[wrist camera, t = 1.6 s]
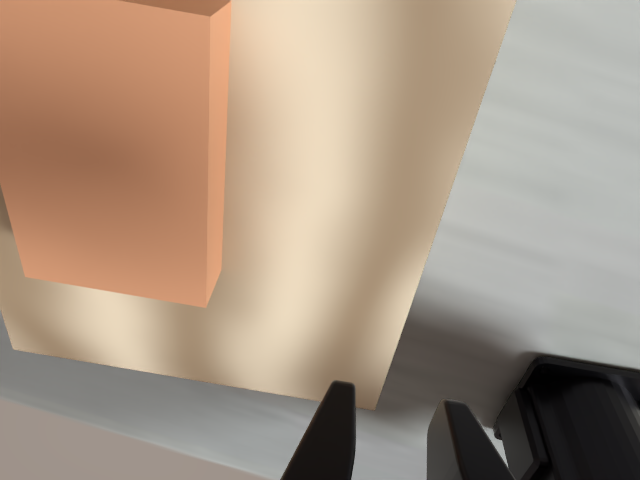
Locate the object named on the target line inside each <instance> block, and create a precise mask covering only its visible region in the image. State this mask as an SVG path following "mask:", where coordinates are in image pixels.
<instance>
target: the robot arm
mask: <svg viewBox="0 0 640 480" xmlns="http://www.w3.org/2000/svg"><path fill="white" fill-rule="evenodd" d="M493 431H494V436H495V438H497V439H499V440H502V441H503V446H504V450H505V454H506V459H507V463H508V467H509V468H508V467H507V465H506V464H505V462H504V461H503V459H502V458H501V456H500V454H499V453H498V451H497V450H496V448H495V447H494V445H493V444H492V442H491V440H490V439H489V437H488V436H487V434H486V433H485V431H484V430H483V428H482V426H481V425H480V423H479V422H478V420H477V419H476V417H475V416H474V414H473V412H472V411H471V409H470V408H469V406H468V405H467V404H466V403H464V402H462V401H457V400H451V399H443V400H441V401H440V403H439V405H438V407H437V409H436V412H435V414H434V416H433V418H432V420H431V422H430V425H429V428H428V434H427V480H640V373H637V372H631V371H625V370H619V369H614V368H608V367H602V366H596V365H590V364H584V363H578V362H573V361H567V360H561V359H555V358H549V357H539V358H537V359H535V360H534V361H533V362H532V363H531V365H530V367H529V368H528V370H527V372H526V373H525V375H524V377H523V378H522V380H521V382H520V383H519V385H518V387H517V388H516V389H515V390H514V391H513V392H512V394H511V396H510V398H509V399H508V401H507V403H506V404H505V406H504V408H503V409H502V411H501V413H500V414H499V416H498V418H497V422H496V424H495V425H494V427H493ZM355 446H356V388H355V385H354V384H353V383H351V382H346V381H340V380H334V381H332V383H331V384H330V386H329V388H328V390H327V392H326V394H325V396H324V397H323V399H322V401H321V403H320V405H319V407H318V409H317V411H316V413H315V415H314V416H313V418H312V420H311V422H310V424H309V426H308V428H307V430H306V432H305V434H304V436H303V437H302V439H301V441H300V443H299V445H298V447H297V449H296V451H295V453H294V455H293V457H292V458H291V460H290V462H289V464H288V466H287V468H286V470H285V472H284V474H283V476H282V477H281V479H280V480H351V477H352V471H353V465H354V458H355Z"/></svg>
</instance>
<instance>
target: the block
mask: <svg viewBox="0 0 640 480" xmlns="http://www.w3.org/2000/svg"><path fill="white" fill-rule="evenodd" d="M231 2H232V1H231V0H0V185H1V188H2V192H3V196H4V200H5V203H6V207H7V211H8V215H9V218H10V222H11V226H12V230H13V234H14V237H15V241H16V245H17V249H18V252H19V256H20V260H21V264H22V267H23V271H24V275H25V277H28V278H34V279H40V280H45V281H51V282H57V283H63V284H69V285H75V286H80V287H86V288H92V289H98V290H104V291H110V292H116V293H121V294H127V295H133V296H139V297H145V298H151V299H157V300H162V301H168V302H174V303H180V304H186V305H192V306H198V307H203V308H206V307H207V304H208V302H209V299H210V297H211V295H212V292H213V290H214V287H215V285H216V282H217V280H218V277H219V275H220V272H221V268H222V242H223V215H224V189H225V162H226V135H227V109H228V82H229V56H230V29H231Z"/></svg>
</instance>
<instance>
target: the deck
mask: <svg viewBox="0 0 640 480" xmlns="http://www.w3.org/2000/svg"><path fill="white" fill-rule="evenodd" d="M231 1H232V2H231V29H230V56H229V82H228V109H227V135H226V162H225V189H224V215H223V242H222V268H221V272H220V275H219V277H218V280H217V282H216V285H215V287H214V290H213V292H212V295H211V297H210V299H209V302H208V304H207V307H206V308H203V307H198V306H192V305H186V304H180V303H174V302H168V301H162V300H157V299H151V298H145V297H139V296H133V295H127V294H121V293H116V292H110V291H104V290H98V289H92V288H86V287H80V286H75V285H69V284H63V283H57V282H51V281H45V280H40V279H34V278H28V277H25V275H24V271H23V267H22V264H21V260H20V256H19V252H18V249H17V245H16V241H15V237H14V234H13V230H12V226H11V222H10V218H9V215H8V211H7V207H6V203H5V200H4V196H3V192H2V188H1V185H0V310H1V313H2V316H3V319H4V322H5V325H6V328H7V331H8V335H9V338H10V341H11V344H12V347H13V349H14V350H20V351H26V352H31V353H37V354H43V355H49V356H55V357H61V358H67V359H73V360H79V361H85V362H90V363H96V364H102V365H108V366H114V367H120V368H126V369H132V370H138V371H144V372H149V373H155V374H161V375H167V376H173V377H179V378H185V379H191V380H197V381H203V382H209V383H214V384H220V385H226V386H232V387H238V388H244V389H250V390H256V391H262V392H268V393H273V394H279V395H285V396H291V397H297V398H303V399H309V400H315V401H322V399H323V397H324V396H325V394H326V392H327V390H328V388H329V386H330V384H331V383H332V381H334V380H340V381H346V382H351V383H353V384H354V385H355V388H356V408H362V409H368V410H374V411H375V408H376V405H377V402H378V399H379V396H380V394H381V391H382V388H383V385H384V382H385V379H386V376H387V373H388V370H389V368H390V365H391V362H392V359H393V356H394V353H395V350H396V347H397V344H398V342H399V339H400V336H401V333H402V330H403V327H404V324H405V321H406V318H407V316H408V313H409V310H410V307H411V304H412V301H413V298H414V295H415V292H416V289H417V287H418V284H419V281H420V278H421V275H422V272H423V269H424V266H425V263H426V261H427V258H428V255H429V252H430V249H431V246H432V243H433V240H434V237H435V235H436V232H437V229H438V226H439V223H440V220H441V217H442V214H443V211H444V209H445V206H446V203H447V200H448V197H449V194H450V191H451V188H452V185H453V182H454V180H455V177H456V174H457V171H458V168H459V165H460V162H461V159H462V156H463V154H464V151H465V148H466V145H467V142H468V139H469V136H470V133H471V130H472V128H473V125H474V122H475V119H476V116H477V113H478V110H479V107H480V104H481V102H482V99H483V96H484V93H485V90H486V87H487V84H488V81H489V78H490V75H491V73H492V70H493V67H494V64H495V61H496V58H497V55H498V52H499V49H500V47H501V44H502V41H503V38H504V35H505V32H506V29H507V26H508V23H509V21H510V18H511V15H512V12H513V9H514V6H515V3H516V0H231Z"/></svg>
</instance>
